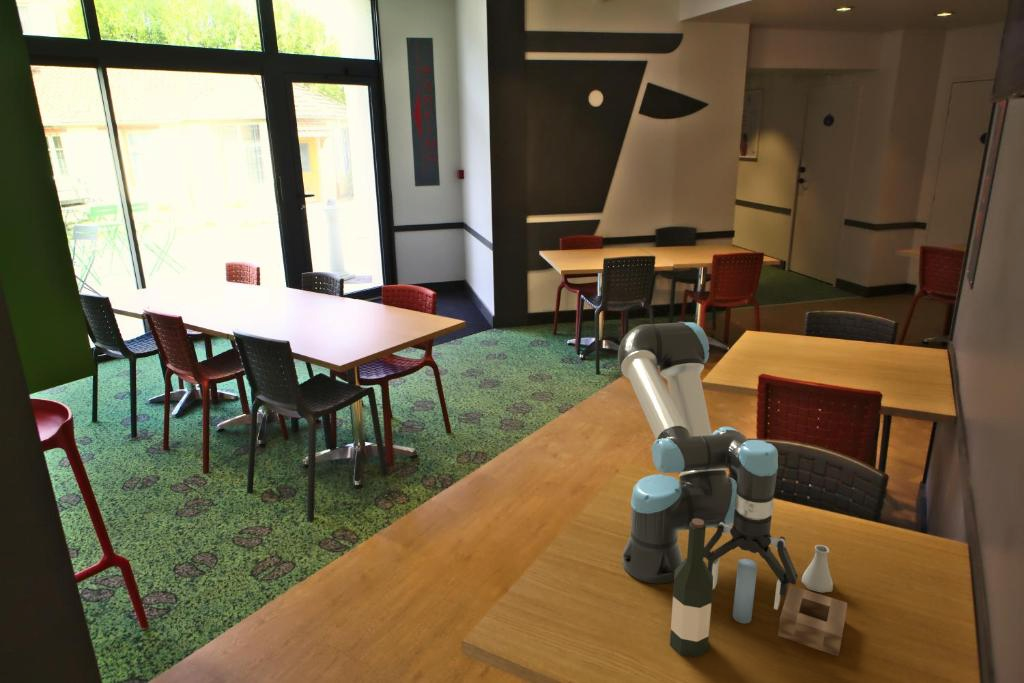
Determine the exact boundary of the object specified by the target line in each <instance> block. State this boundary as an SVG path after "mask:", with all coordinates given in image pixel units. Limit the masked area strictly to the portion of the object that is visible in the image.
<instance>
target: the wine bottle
mask: <svg viewBox="0 0 1024 683" xmlns="http://www.w3.org/2000/svg"><path fill="white" fill-rule="evenodd" d="M706 529H707V528H706V524H704V521H703V520H701V519H698V518H695V519H692V522H690V525H689V530H688V540H687V543H688V544H687V552H686V553H687V554H686V556H687V557H686V558H685V559H683V562H682V563H681V564H680V565H679V566H678V567H677V568H676V569H675V576H674V581H673V592H672V604H671V605H672V606H671V622H670V624H671V625H670V634H669V635H670V636H669V638H670V639H669V646H670V647H672V649H673V650H674V651H676V653H677V654H679V655H680V656H683V657H689V658H694V659H695V658H698V657H701V656H702V655H705V654H707V653H708V647H709V636H710V635H709V634H710V624H711V612H712V600H713V590H714V589H713V575H712V574H711V572H710V570H709V569H708V565H707V564H706V562H705V561H704V558H703V555H704V547H705V543H706V540H705V539H706Z"/></svg>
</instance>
